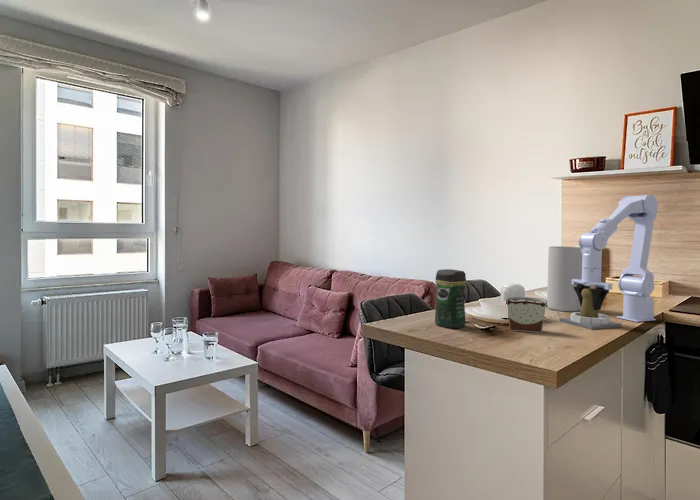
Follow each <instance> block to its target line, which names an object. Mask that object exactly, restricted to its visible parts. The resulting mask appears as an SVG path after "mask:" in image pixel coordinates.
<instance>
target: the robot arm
mask: <svg viewBox="0 0 700 500" xmlns="http://www.w3.org/2000/svg"><path fill="white" fill-rule="evenodd" d="M658 206H659V202H658V201H657V199H656V196H654V195H653V194H645V195H644V194H643V195H632V196H630V195H625V196H624V197H622V199H621V200H619V201H618V206H617V207H616V209H615V210H614V211H613V212H612V213H611V214H610V216H609V217H608V218H606V217H605V218H601V219H599V221H598V223H597V224H596V225H595V226H594V227H592V228H591V229H590V231H589V232H584V233H583V234H582V235H581V236H580V238H579V239H578V245H579V246H578V247H580V248H581V253H582V254H583V255H582V279H572V285H577V286H574V290H575V291H576V293H577V296H578V299H579V302H580V306H582V301H583V297H582V295H581V292H582V290H583V289H586V288H592V289H591V291H592V294H593V299H594V310H598V311H600V310H601V308H602V306H603V303H604V300H605V298H606V297H607V295H608V294H609V293H610V290H611V291H612V290H613V283H610V282H605V281H602V259H603V258H602V257H603V250H604V249H605V248H606V247H607V244H608V241H609V238H610V237H612V236H613V234H614V233H615V232H617V230H618V225H619V224H620V223H621V222H623V220H625V219H626V218H629V220H631V221H633V222H634V223H635V226H634V232H633V233H634V234H633V238H632V245H631V252H630V259H629V264H628V266H627V267H625V268H624V269H623V270H622V271H621V275H620V277H619V278H618V281H617V282H618V283H617V287H618V289H619V291H621V294H622V295H623V299H622V303H623V304H622V315H618V316H616V318H617V319H621V320H627V321H631V322H636V323H640V322H650V321H656V320H657V319H656V318H654V316H655V315H654V311H655V300H654V299H653V297H652V296H651V294H652V293H653V292H654V290H655V282H654V278H655V275H654V274H653V273H652V272H651V271H650V270H649V269H648V268H647V267H648V263H649V258H650V257H649V255H650V251H651V243H652V236H653V230H654V223H655V220H656V218H657V213H658Z"/></svg>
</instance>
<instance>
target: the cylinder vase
mask: <svg viewBox="0 0 700 500" xmlns="http://www.w3.org/2000/svg"><path fill="white" fill-rule="evenodd" d="M582 255H583V254H582V253H581V248H580V246H548V259H547V260H548V261H547V294H546V296H547V297H546V303H547V306H548V308H547V309H548V310H549V309H550V310H552V311H558V312H567V313H569V312H571V313H573V312H580V311H581V306H580V302H579V299H578V296H577V293H576V291H575V290H574V286H577V285H572V279H582Z"/></svg>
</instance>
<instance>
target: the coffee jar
mask: <svg viewBox="0 0 700 500" xmlns="http://www.w3.org/2000/svg"><path fill="white" fill-rule="evenodd" d="M466 276H467V274H466V272H465V271H464V270H459V269H458V270H457V269H451V268H447V269H446V268H445V269H438V270H437V272H436V273H435V286H436V304H435V315H434V323H435V325H437V326H440V327H444V328H457V329H460V328H463V327H464V326H466V309H465V305H466V304H465V288H466V284H467V277H466Z"/></svg>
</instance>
